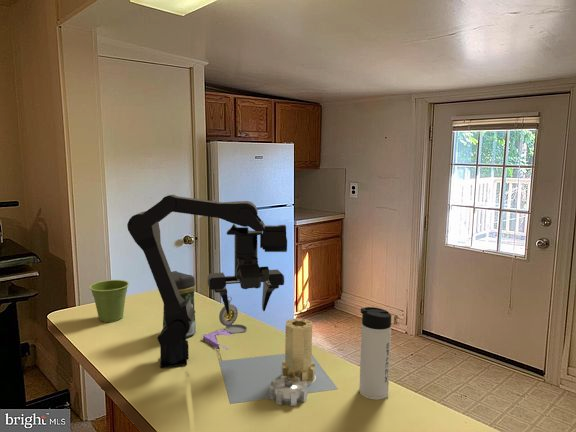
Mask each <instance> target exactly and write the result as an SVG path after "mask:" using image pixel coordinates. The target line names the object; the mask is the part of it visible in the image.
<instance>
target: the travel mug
mask: <svg viewBox="0 0 576 432" xmlns="http://www.w3.org/2000/svg"><path fill="white" fill-rule="evenodd" d="M360 314H362V316H361V319H362V320H361V330H360V331H361V337H360V361H359V362H360V363H359V364H360V365H359V366H360V367H359V389H358V390H359V393H360V395H361V396H362V397H365V398H367V399H370V400H384V399H386V401H387V400H389V385H390V365H391V363H390V361H391V342H392V341H391V340H392V314H391V313H389V311H387V310H385V309H383V308H379V307H374V306H367V307H366V306H365V307H361V308H360Z"/></svg>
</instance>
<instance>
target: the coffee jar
mask: <svg viewBox="0 0 576 432" xmlns="http://www.w3.org/2000/svg"><path fill="white" fill-rule="evenodd" d="M171 272H172V275H173V278H174V280H175V283H176V286H177V288H178V291H179V294H180V295H181V297H182V298H183V299H184V300H185V301H186V300H187V299H190V300H191V305H192V308H193V309H194V310H195V291H196V280H195V276H194V275H192V274H187V273H182V272H180V271H177V270H174V271H171ZM162 311H163V314H162V315H163V317H162V328H163V327H164V326H165V324H166V323H165V317H164V310H162ZM196 324H197V323H196V313H195V314H194V321H193V323H192V325H191V327H190V330H189V332H188V333H187V334H186V335H185V336H186V339H188V338H191V337H192V336H194V335H195V333H197V330H196V329H197V328H196V327H197V326H196Z"/></svg>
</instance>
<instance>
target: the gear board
mask: <svg viewBox="0 0 576 432" xmlns="http://www.w3.org/2000/svg"><path fill="white" fill-rule="evenodd" d="M284 360H285V353H281V354H280V353H278V354H268V355H260V356H254V357H253V356H251V357H241V358H233V359H225V360H219V361H218V363H219V367H220V369H221V374H222V378H223V382H224V385H225V388H226V389H225V390H226V393H227V396H228V400H229V404H230V405H233V404H239V403H247V402H254V401H261V400H262V401H263V400H267V399H270V398H269V386H271V381H272V380H273V379H275V380H278V379H281V376H282V362H283V361H284ZM311 362H314V363H315V379H314V381H313V382H311V381H308V382H307V384H308V385H307V394H312V393H319V392H328V391H334V390H338V389H339V388H338V387H337V385H336V384H335V383H334V381H333V380H332V379H331V377H330V376H329V375H328V374H327V372H326V371H325V370H324V368H323V367H322V365H321V364H320V363H319V361H318V360H317V359H316V357H315V356H314V354H312V356H311Z"/></svg>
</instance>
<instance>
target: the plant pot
mask: <svg viewBox="0 0 576 432" xmlns="http://www.w3.org/2000/svg"><path fill="white" fill-rule="evenodd" d="M129 286H130V282H129V281H126V280H123V279H108V280H102V281H97V282H95V283H92V284H90V285H89V290H90V291H91V293H92V297H93V298H94V303H95V308H96V312H97V316H98V321H100V322H105V323H111V322H112V323H113V322H117V321H118V320H122V319H123V318H124V311H125V303H126V296H127V292H128V287H129Z"/></svg>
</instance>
